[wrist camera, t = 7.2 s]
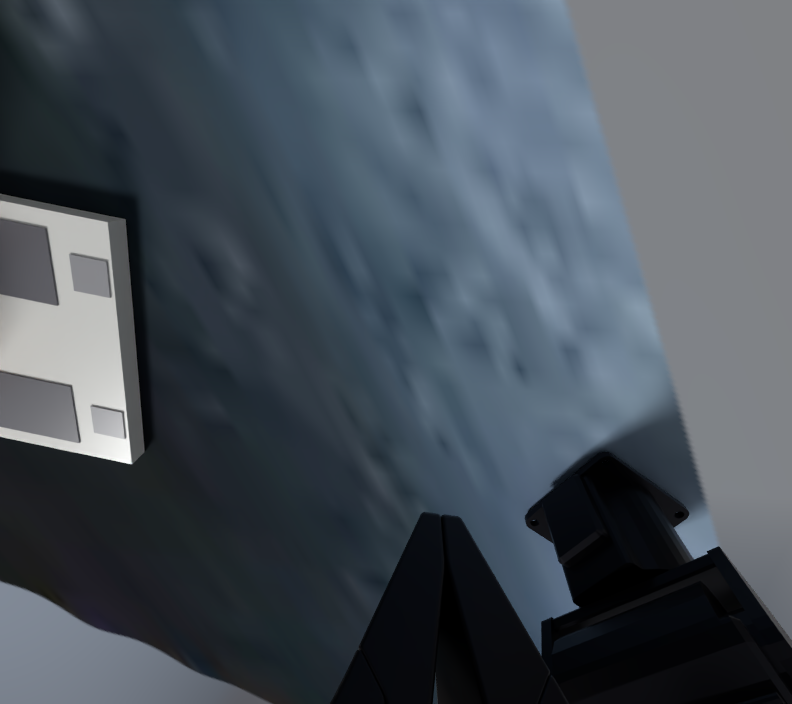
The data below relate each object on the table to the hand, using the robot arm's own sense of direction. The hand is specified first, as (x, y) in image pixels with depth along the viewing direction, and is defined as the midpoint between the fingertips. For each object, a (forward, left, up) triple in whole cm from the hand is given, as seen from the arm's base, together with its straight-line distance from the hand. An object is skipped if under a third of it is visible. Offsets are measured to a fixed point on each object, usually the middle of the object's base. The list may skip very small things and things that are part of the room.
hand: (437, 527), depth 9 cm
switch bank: (+19, +15, -13) cm, 27 cm away
